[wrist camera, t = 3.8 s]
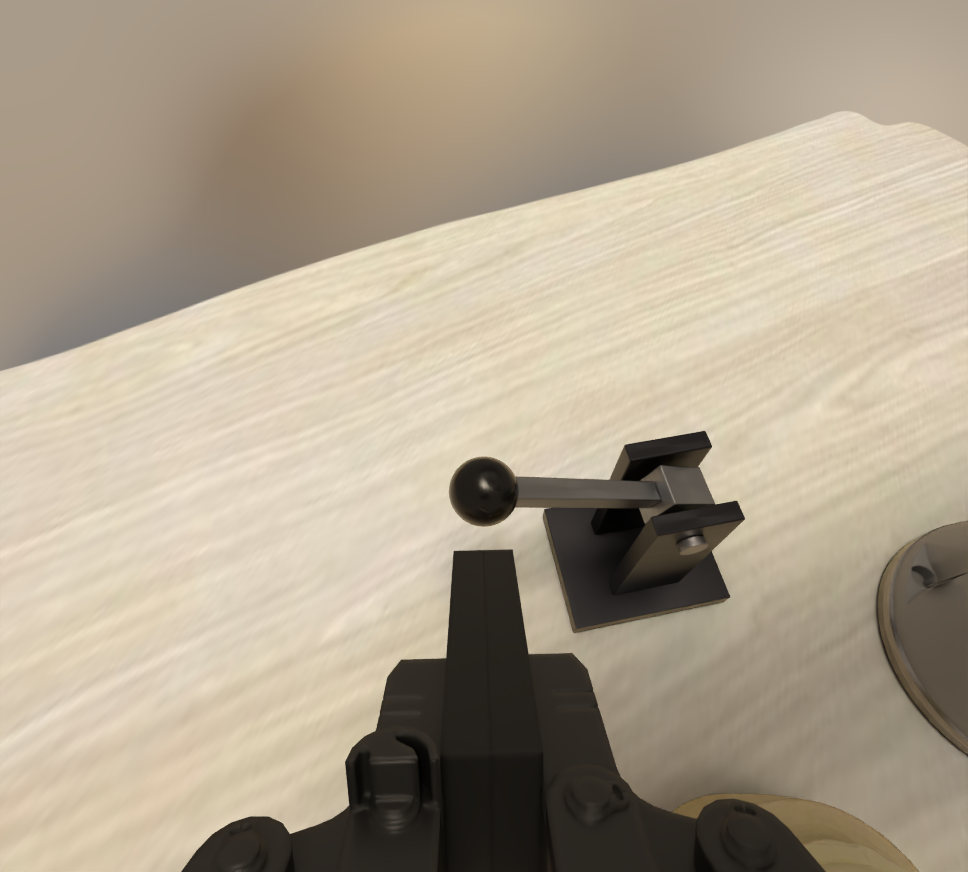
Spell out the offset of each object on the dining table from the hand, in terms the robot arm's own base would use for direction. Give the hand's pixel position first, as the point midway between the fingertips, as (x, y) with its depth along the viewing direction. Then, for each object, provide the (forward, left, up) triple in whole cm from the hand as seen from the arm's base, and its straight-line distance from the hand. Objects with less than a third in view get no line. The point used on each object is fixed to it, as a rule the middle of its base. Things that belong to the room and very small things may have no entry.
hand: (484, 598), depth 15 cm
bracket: (-11, -6, -22) cm, 26 cm away
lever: (-6, -6, -11) cm, 14 cm away
